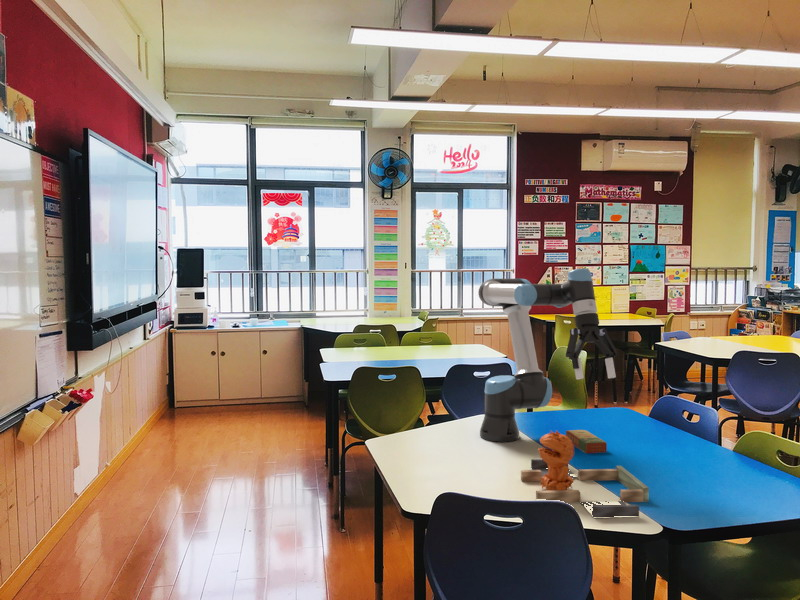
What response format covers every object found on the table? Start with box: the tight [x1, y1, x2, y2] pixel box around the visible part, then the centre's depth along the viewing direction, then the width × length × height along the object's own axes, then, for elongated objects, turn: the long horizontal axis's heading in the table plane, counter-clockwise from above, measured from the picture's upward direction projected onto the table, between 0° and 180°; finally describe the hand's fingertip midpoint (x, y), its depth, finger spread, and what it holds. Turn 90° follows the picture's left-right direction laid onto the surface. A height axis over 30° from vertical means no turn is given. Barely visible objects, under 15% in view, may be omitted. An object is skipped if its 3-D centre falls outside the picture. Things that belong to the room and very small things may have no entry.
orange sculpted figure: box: [537, 429, 575, 491], centre depth 165 cm, size 11×11×18 cm
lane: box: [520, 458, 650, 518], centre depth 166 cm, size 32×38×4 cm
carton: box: [565, 429, 608, 454], centre depth 209 cm, size 8×16×4 cm, turn 9°
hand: (596, 378), depth 182 cm, fingers open, 13 cm apart
